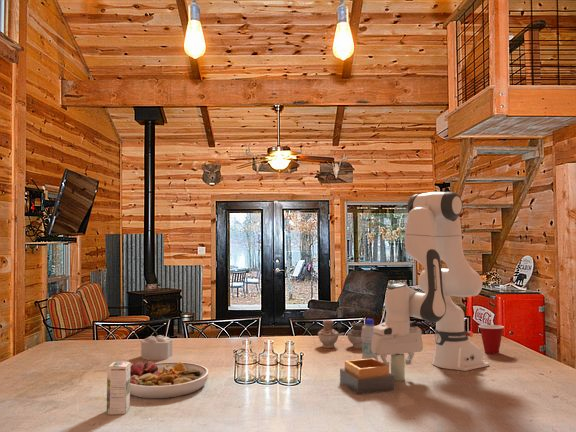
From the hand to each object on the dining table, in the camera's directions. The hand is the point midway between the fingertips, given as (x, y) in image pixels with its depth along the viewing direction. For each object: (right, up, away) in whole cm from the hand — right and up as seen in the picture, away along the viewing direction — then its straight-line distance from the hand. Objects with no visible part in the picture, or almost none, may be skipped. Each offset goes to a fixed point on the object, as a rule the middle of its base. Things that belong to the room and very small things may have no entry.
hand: (397, 365), depth 187 cm
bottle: (-8, -6, +12) cm, 16 cm away
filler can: (0, -5, 0) cm, 5 cm away
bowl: (-84, -6, -7) cm, 84 cm away
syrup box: (-92, -5, -32) cm, 98 cm away
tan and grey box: (-13, -5, -8) cm, 16 cm away
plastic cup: (+50, -6, +39) cm, 64 cm away
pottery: (-14, -7, +50) cm, 53 cm away
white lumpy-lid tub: (-98, -6, +34) cm, 104 cm away
